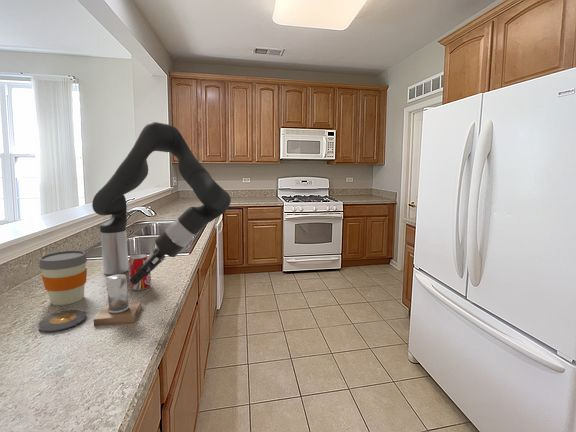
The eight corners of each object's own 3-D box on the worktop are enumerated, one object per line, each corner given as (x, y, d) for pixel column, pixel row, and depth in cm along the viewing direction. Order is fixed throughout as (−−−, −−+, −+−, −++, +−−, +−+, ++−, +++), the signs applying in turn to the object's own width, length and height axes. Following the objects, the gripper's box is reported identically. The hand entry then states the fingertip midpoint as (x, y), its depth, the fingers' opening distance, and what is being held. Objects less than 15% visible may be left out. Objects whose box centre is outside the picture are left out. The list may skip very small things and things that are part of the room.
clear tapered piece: (111, 306, 94) (109, 274, 92) (131, 305, 95) (129, 273, 93) (105, 314, 88) (102, 281, 87) (126, 313, 90) (123, 279, 88)
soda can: (143, 292, 109) (140, 259, 107) (125, 290, 111) (122, 258, 109) (155, 285, 116) (153, 253, 114) (138, 283, 118) (136, 252, 116)
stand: (106, 310, 96) (105, 303, 95) (141, 307, 98) (141, 301, 98) (94, 326, 86) (93, 319, 86) (133, 322, 88) (132, 316, 88)
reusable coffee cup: (61, 310, 95) (56, 263, 93) (34, 303, 99) (28, 258, 97) (98, 295, 107) (95, 252, 104) (73, 289, 111) (69, 248, 109)
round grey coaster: (51, 315, 92) (51, 311, 92) (93, 311, 94) (92, 307, 94) (30, 334, 81) (29, 330, 81) (77, 330, 84) (77, 325, 84)
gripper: (169, 224, 98) (132, 261, 97) (161, 234, 84) (118, 277, 84) (187, 240, 100) (151, 276, 99) (183, 252, 86) (140, 294, 86)
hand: (136, 277), depth 91 cm, fingers open, 8 cm apart
